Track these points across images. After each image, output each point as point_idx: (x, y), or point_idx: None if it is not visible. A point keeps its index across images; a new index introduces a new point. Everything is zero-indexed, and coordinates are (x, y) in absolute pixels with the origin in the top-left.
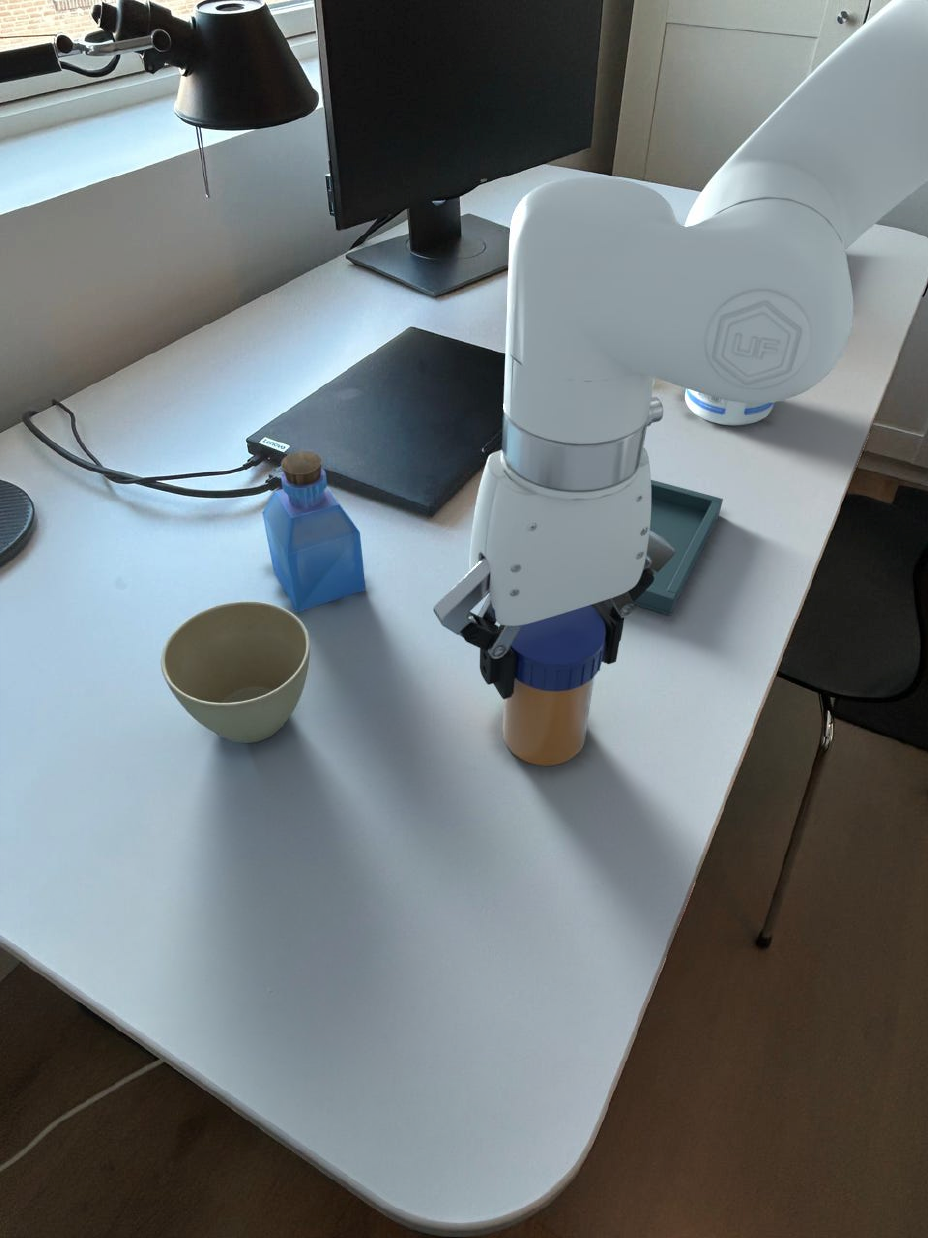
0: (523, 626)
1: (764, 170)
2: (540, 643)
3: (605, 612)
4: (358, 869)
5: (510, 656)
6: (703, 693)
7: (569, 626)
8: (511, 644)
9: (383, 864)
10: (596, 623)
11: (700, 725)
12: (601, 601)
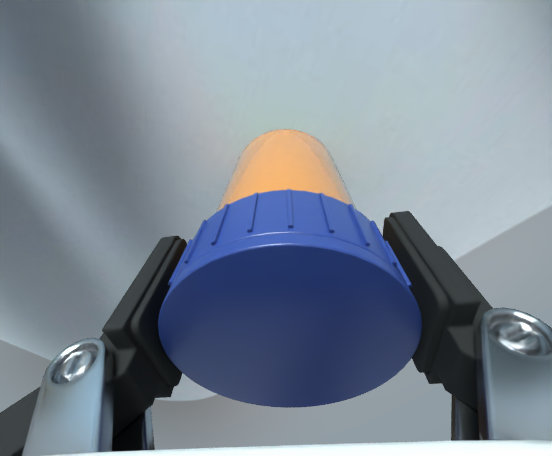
0: (213, 330)
1: None
2: (240, 369)
3: (435, 350)
4: (81, 269)
5: (163, 395)
6: (509, 177)
7: (325, 351)
8: (152, 429)
9: (103, 270)
10: (391, 357)
11: (462, 218)
12: (450, 352)
